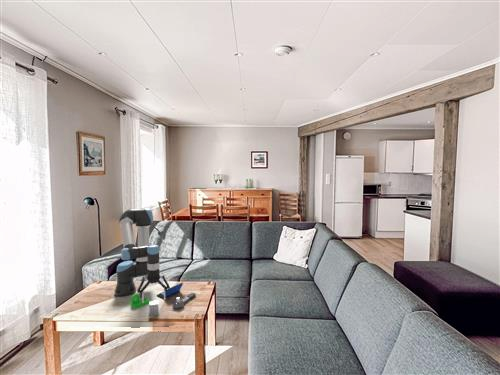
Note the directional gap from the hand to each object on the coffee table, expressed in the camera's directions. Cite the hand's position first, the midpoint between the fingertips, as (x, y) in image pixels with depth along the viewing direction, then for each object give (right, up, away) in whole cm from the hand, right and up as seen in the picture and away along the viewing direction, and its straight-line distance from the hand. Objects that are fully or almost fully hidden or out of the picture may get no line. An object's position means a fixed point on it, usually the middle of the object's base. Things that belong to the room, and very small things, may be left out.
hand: (153, 300), depth 181 cm
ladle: (+17, -8, +16) cm, 24 cm away
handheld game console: (+2, -8, +28) cm, 29 cm away
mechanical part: (-14, -8, +13) cm, 21 cm away
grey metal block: (0, -9, +1) cm, 9 cm away
